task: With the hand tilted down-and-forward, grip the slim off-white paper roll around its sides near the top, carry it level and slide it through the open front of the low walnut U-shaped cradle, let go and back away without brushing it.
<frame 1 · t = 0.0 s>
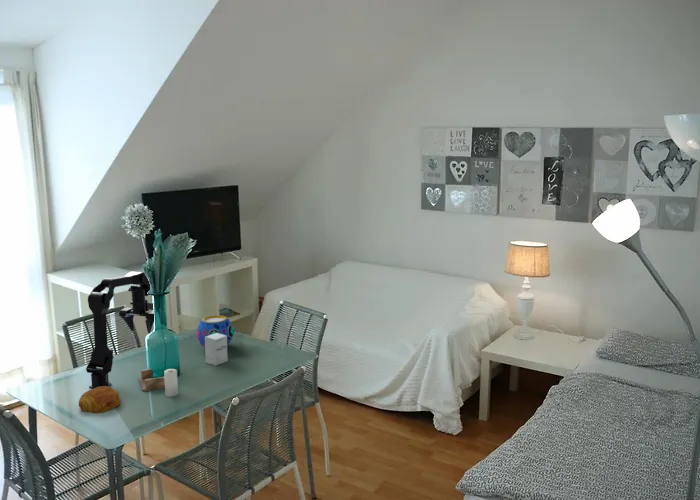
hand: (140, 331, 289), 15 cm above the table, tool pointing down, fingers open, 9 cm apart
cradle: (155, 383, 269), on the table
paper roll: (171, 394, 258), on the table
supplement box: (216, 362, 293), on the table
croissant: (101, 406, 248), on the table
ceramic pot: (215, 348, 311), on the table
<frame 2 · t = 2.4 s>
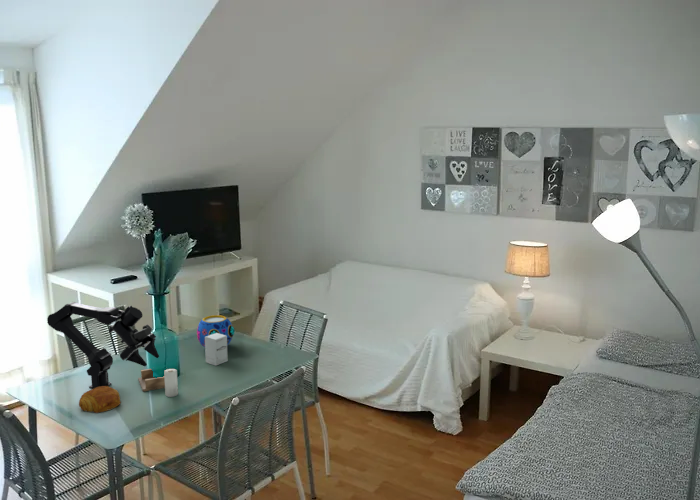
hand: (152, 361, 257), 13 cm above the table, tool tilted 45°, fingers open, 9 cm apart
nothing on the table moved.
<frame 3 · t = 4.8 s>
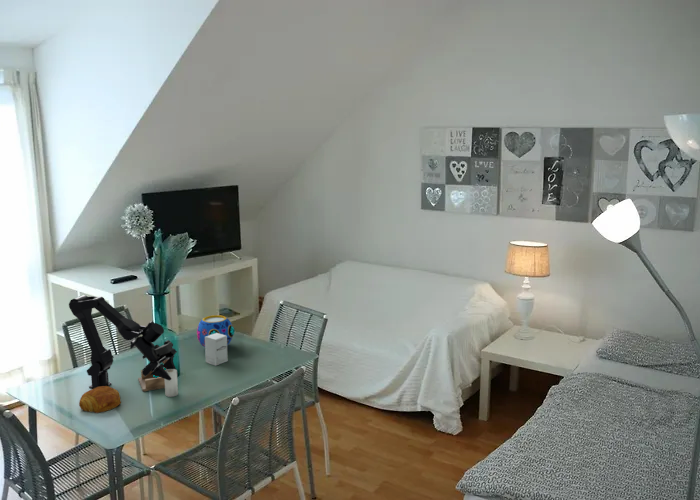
hand: (173, 377, 256), 8 cm above the table, tool tilted 45°, fingers closed on paper roll, 5 cm apart
paper roll: (171, 394, 258), on the table, touching gripper
everything else where it was.
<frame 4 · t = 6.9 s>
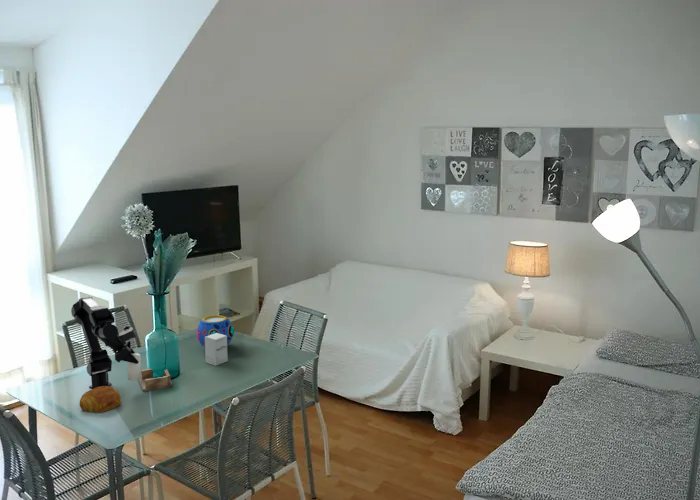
hand: (137, 360, 260), 13 cm above the table, tool tilted 40°, fingers closed on paper roll, 5 cm apart
paper roll: (134, 378, 261), point 5 cm above the table, touching gripper
everything else where it was.
when the fingers open (10 cm above the table, at t = 9.4 s): paper roll stays where it is, resting on cradle.
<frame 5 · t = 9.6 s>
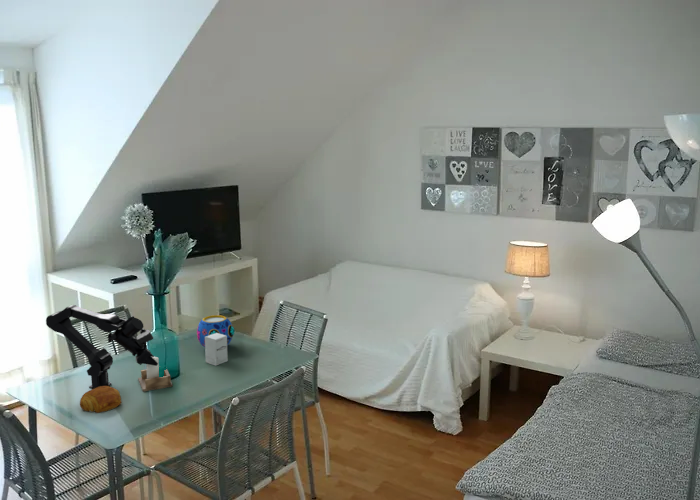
hand: (155, 361, 267), 10 cm above the table, tool tilted 45°, fingers open, 7 cm apart
paper roll: (153, 381, 268), point 1 cm above the table, touching cradle
everything else where it was.
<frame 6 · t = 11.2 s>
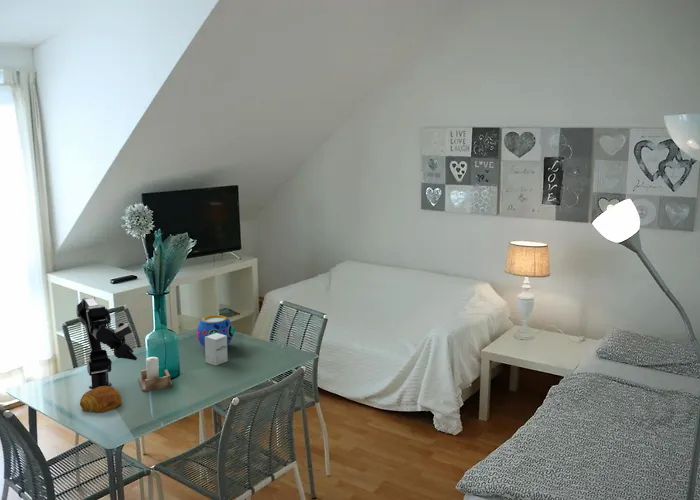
hand: (134, 355, 263), 14 cm above the table, tool tilted 45°, fingers open, 9 cm apart
nothing on the table moved.
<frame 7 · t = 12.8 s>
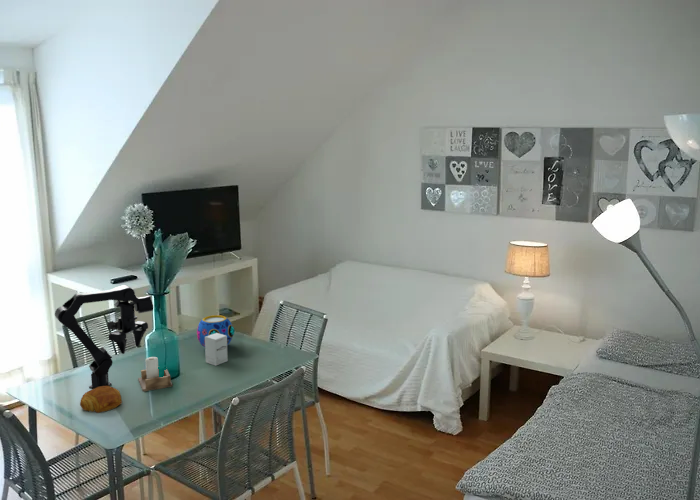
hand: (130, 350, 271), 13 cm above the table, tool pointing down, fingers open, 9 cm apart
nothing on the table moved.
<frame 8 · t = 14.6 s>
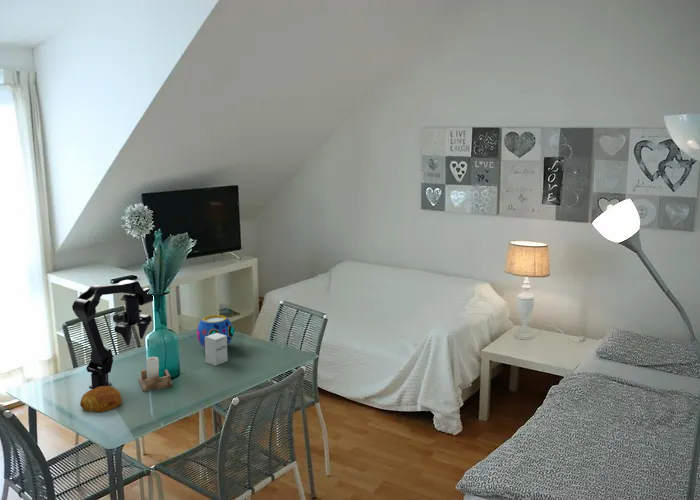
hand: (134, 342, 281), 13 cm above the table, tool pointing down, fingers open, 9 cm apart
nothing on the table moved.
at the end: paper roll 0.8 cm from the cradle (horizontally); paper roll tilted 1°; the gripper is holding nothing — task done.
